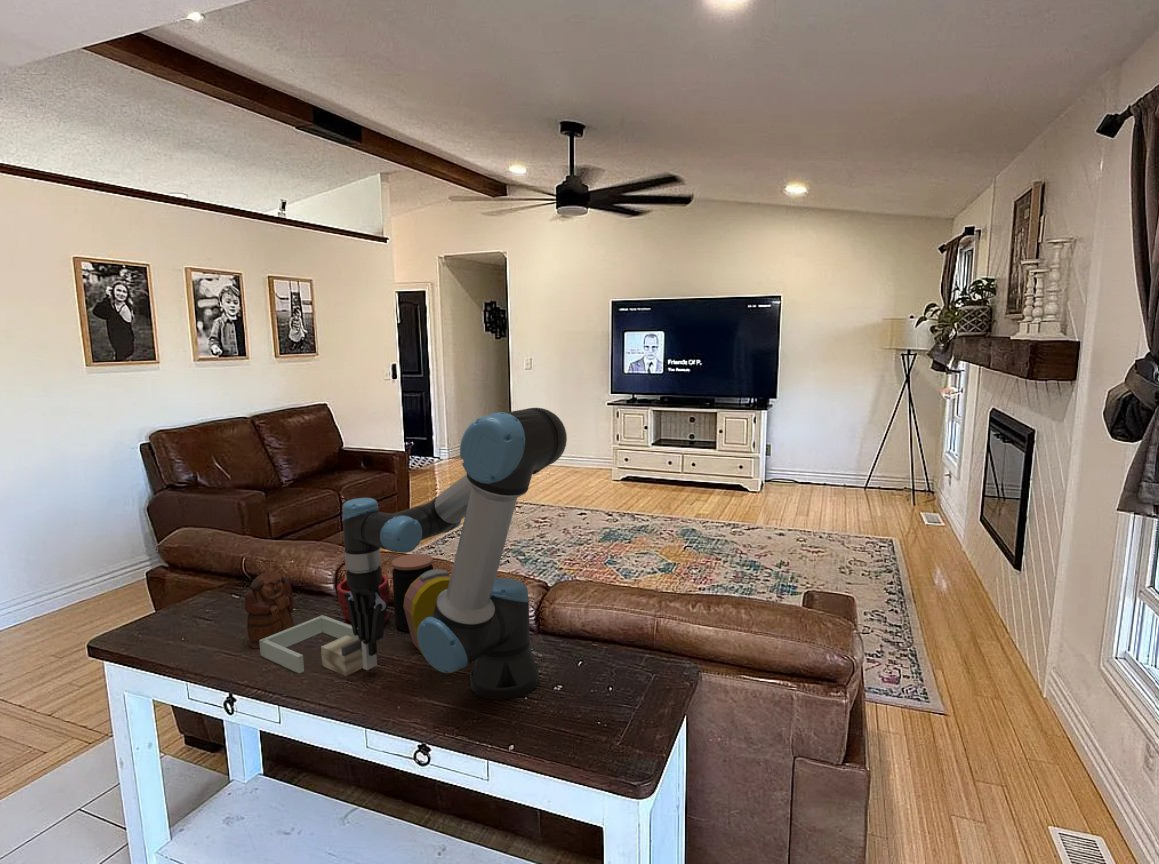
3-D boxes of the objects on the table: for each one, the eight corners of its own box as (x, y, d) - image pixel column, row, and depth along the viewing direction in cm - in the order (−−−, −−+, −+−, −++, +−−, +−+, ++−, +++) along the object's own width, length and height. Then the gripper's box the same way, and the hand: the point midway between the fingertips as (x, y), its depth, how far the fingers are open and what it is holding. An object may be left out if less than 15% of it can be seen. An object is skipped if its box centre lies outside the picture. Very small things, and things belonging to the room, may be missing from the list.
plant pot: (351, 614, 185) (348, 573, 183) (397, 614, 184) (394, 572, 182) (331, 634, 172) (328, 590, 170) (381, 634, 171) (378, 590, 169)
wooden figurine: (265, 652, 162) (259, 582, 160) (246, 648, 165) (239, 579, 162) (301, 632, 173) (295, 566, 171) (282, 628, 176) (276, 564, 173)
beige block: (371, 664, 156) (369, 636, 155) (346, 677, 150) (343, 648, 149) (347, 654, 161) (345, 627, 160) (322, 666, 155) (320, 638, 154)
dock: (362, 644, 166) (361, 629, 165) (299, 673, 151) (298, 657, 151) (323, 629, 175) (322, 615, 174) (260, 655, 161) (259, 640, 160)
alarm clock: (460, 629, 174) (457, 561, 171) (473, 640, 167) (470, 570, 164) (404, 643, 166) (400, 573, 163) (415, 656, 159) (411, 583, 156)
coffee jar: (426, 634, 170) (422, 567, 168) (388, 631, 173) (384, 565, 170) (442, 617, 181) (439, 554, 178) (406, 615, 183) (403, 552, 180)
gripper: (396, 568, 146) (402, 667, 150) (359, 557, 154) (365, 653, 157) (368, 578, 140) (375, 682, 144) (331, 567, 148) (338, 666, 151)
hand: (370, 666), depth 150 cm, fingers closed
